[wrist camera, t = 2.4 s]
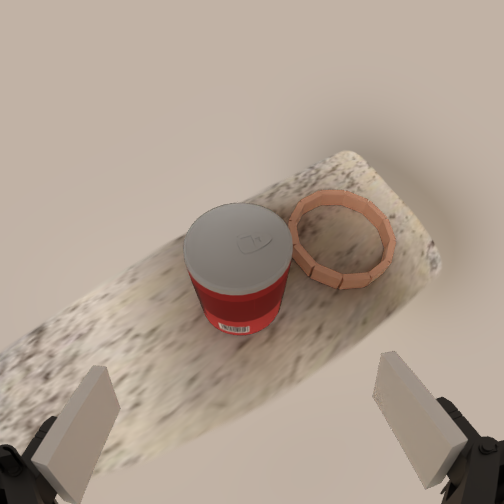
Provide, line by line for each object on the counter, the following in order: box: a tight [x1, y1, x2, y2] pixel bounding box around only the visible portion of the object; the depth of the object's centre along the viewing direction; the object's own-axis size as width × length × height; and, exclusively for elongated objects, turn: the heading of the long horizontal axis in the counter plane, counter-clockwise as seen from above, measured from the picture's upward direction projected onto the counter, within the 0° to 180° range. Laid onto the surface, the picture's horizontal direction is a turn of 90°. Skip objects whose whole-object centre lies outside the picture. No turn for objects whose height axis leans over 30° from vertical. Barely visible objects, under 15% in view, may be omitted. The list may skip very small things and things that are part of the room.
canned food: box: [183, 203, 293, 335], centre depth 26 cm, size 8×8×11 cm
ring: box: [288, 190, 396, 289], centre depth 34 cm, size 13×13×2 cm
